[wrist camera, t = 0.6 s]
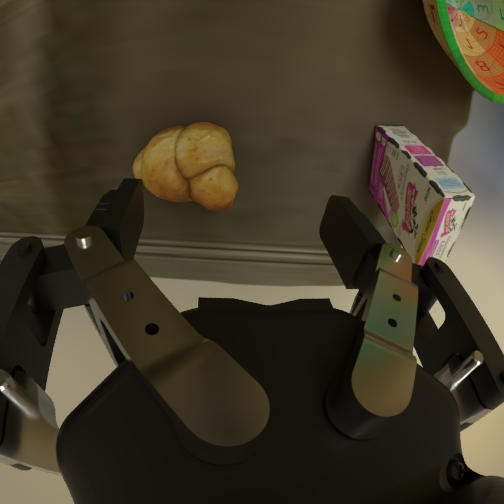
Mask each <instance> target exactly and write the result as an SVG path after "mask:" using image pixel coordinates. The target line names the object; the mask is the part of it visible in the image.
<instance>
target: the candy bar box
mask: <svg viewBox="0 0 504 504" xmlns="http://www.w3.org/2000/svg"><path fill="white" fill-rule="evenodd" d="M368 191H369V192H370V194H371V195H372V197H373V198H374V200H375V201H376V203H377V204H378V206H379V208H380V209H381V211H382V212H383V214H384V216H385V217H386V219H387V221H388V222H389V224H390V226H391V227H392V229H393V231H394V233H395V234H396V236H397V238H398V240H399V241H400V243H401V245H402V247H403V249H404V250H405V251H406V252H408V254H409V255H410V256H411V258H412V263H415V264H418V265H421V266H423V265H424V264H425V262H426V260H427V259H428V258H429V257H434V258H437V259H439V260H441V261H443V262H444V263H445V261H446V259H447V257H448V255H449V253H450V251H451V249H452V247H453V245H454V243H455V241H456V239H457V237H458V235H459V233H460V230H461V228H462V226H463V224H464V222H465V220H466V217H467V215H468V213H469V210H470V208H471V206H472V203H473V201H474V198H475V195H474V194H473V193H472V191H470V189H469V188H468V187H467V186H466V185H465V184H464V183H463V182H462V181H461V179H460V178H459V177H458V176H457V175H456V174H455V173H454V172H453V171H452V170H451V169H450V168H449V167H448V166H447V165H446V164H445V163H444V162H443V161H442V160H441V159H440V158H439V157H438V156H437V155H436V154H435V153H434V152H433V151H432V150H431V149H430V148H428V147H427V146H426V145H425V144H424V143H423V142H422V141H421V140H420V139H418V138H417V137H416V136H415V135H414V134H413V133H412V132H410V131H409V130H408V129H407V128H405V127H404V126H388V125H387V126H386V125H377V126H376V129H375V140H374V150H373V159H372V167H371V174H370V181H369V188H368Z"/></svg>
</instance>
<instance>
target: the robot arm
mask: <svg viewBox="0 0 504 504" xmlns="http://www.w3.org/2000/svg"><path fill="white" fill-rule="evenodd" d="M143 222H144V200H143V180H142V179H129V178H125V179H124V180H123V181H122V183H121V185H120V186H119V188H118V190H111V191H109V192H108V193H106V194H105V195H104V196H103V197H102V198H101V200H100V201H99V204H98V205H97V206H96V208H95V210H94V211H93V213H92V215H91V216H90V218H89V220H88V222H87V223H86V225H85V226H83V227H79V228H77V229H75V230H73V231H71V232H70V233H69V234H68V235H67V236H66V238H65V241H64V244H63V245H59V246H53V247H49V248H44V247H43V243H42V241H41V239H40V238H38V237H34V236H30V237H25V238H22V239H20V240H18V241H17V242H15V243H14V244H13V245H12V246H11V247H10V249H9V250H8V252H7V253H6V255H5V257H4V258H3V260H2V262H1V264H0V462H1V463H3V464H6V465H10V466H13V467H15V468H17V469H20V470H30V469H32V468H34V469H37V470H41V471H45V472H48V473H52V474H56V475H60V476H63V478H64V481H65V482H66V485H67V487H68V489H69V491H70V494H71V496H72V498H73V501H74V504H504V478H502V477H498V476H483V475H480V474H478V473H476V472H474V471H472V470H471V469H470V468H468V466H467V465H466V464H465V461H464V458H463V455H462V450H461V441H460V432H461V431H462V430H464V429H466V428H467V427H469V426H470V425H472V424H473V423H475V422H476V421H478V420H479V419H481V418H482V417H484V416H485V415H487V414H488V413H490V412H491V411H492V410H494V409H495V408H496V407H498V406H499V405H500V404H502V403H503V402H504V355H503V353H502V351H501V349H500V347H499V345H498V344H497V342H496V340H495V338H494V336H493V334H492V333H491V331H490V329H489V327H488V326H487V324H486V322H485V321H484V319H483V317H482V316H481V314H480V312H479V311H478V309H477V308H476V306H475V304H474V303H473V301H472V300H471V298H470V297H469V295H468V294H467V292H466V291H465V289H464V288H463V286H462V285H461V284H460V282H459V281H458V279H457V278H456V276H455V275H454V273H453V272H452V271H451V269H450V268H449V267H448V266H447V265H446V264H445V263H444V262H443V261H441V260H439V259H437V258H434V257H429V258H428V259H427V260H426V262H425V264H424V265H423V266H421V265H418V264H415V263H412V258H411V256H410V255H409V254H408V252H406V251H405V250H404V249H403V248H401V247H399V246H397V245H395V244H392V243H386V241H385V240H384V239H383V237H382V236H381V235H380V233H379V232H378V231H377V230H376V229H375V227H374V226H373V224H371V222H370V221H369V219H368V218H367V217H366V216H365V215H364V214H363V213H362V212H360V211H359V210H358V209H357V207H356V206H355V205H354V204H353V202H352V201H351V200H350V199H349V198H348V197H342V196H335V195H332V196H331V197H330V198H329V201H328V203H327V207H326V210H325V213H324V216H323V219H322V222H321V225H320V238H321V240H322V242H323V244H324V245H325V247H326V249H327V251H328V253H329V255H330V257H331V259H332V261H333V263H334V265H335V267H336V269H337V271H338V273H339V275H340V277H341V279H342V281H343V283H344V285H345V287H346V289H359V291H358V293H357V295H356V297H355V300H354V302H353V305H352V308H351V311H350V313H347V312H345V311H342V310H339V309H335V308H333V306H332V304H331V302H330V299H329V298H328V299H298V300H294V301H289V302H285V303H280V304H276V305H262V304H257V303H253V302H248V301H243V300H238V299H234V298H200V297H199V300H198V308H195V309H191V310H187V311H184V312H181V313H180V312H179V311H178V310H177V309H176V308H175V307H174V306H173V305H172V303H171V302H170V301H169V300H168V299H167V298H166V297H165V295H164V294H163V293H162V292H161V291H160V290H159V288H158V287H157V286H156V285H155V284H154V282H153V281H152V280H151V279H150V278H149V276H148V275H147V274H146V273H145V272H144V270H143V269H142V268H141V267H140V265H139V264H138V263H137V262H136V261H135V260H134V259H133V258H134V255H135V251H136V248H137V244H138V241H139V238H140V234H141V231H142V228H143ZM437 299H438V301H439V302H440V304H441V306H442V307H443V309H444V311H445V321H444V323H443V324H442V326H441V327H440V328H439V329H438V328H437V326H436V324H435V322H434V321H433V319H432V317H431V315H430V313H429V310H430V309H431V307H432V306H433V305H434V303H435V302H436V300H437ZM80 305H84V307H85V309H86V311H87V313H88V315H89V317H90V319H91V321H92V323H93V325H94V326H95V328H96V330H97V332H98V333H99V335H100V337H101V339H102V341H103V342H104V344H105V346H106V348H107V350H108V352H109V354H110V356H111V358H112V360H113V361H114V363H115V365H116V366H117V368H116V369H115V370H114V371H113V372H112V373H111V374H110V375H109V376H108V377H107V378H105V379H104V381H102V383H101V384H99V385H98V386H97V387H96V388H95V389H94V390H93V391H92V392H91V393H90V394H89V395H88V396H87V397H86V398H85V399H84V400H83V401H82V402H81V403H80V404H79V405H78V406H77V407H76V408H75V409H74V410H73V411H72V412H71V413H70V414H69V415H68V416H67V418H66V419H65V420H64V422H63V423H62V425H61V427H60V429H59V427H58V425H57V423H56V416H55V407H54V403H53V401H52V399H51V398H50V397H49V396H48V395H47V394H46V392H45V388H46V382H47V376H48V371H49V366H50V361H51V356H52V352H53V347H54V343H55V339H56V335H57V331H58V327H59V324H60V320H61V316H62V313H63V309H64V308H70V307H75V306H80ZM413 346H414V348H415V350H416V352H417V355H418V357H419V359H420V361H421V363H422V366H423V367H421V366H420V365H419V364H417V359H416V357H415V356H414V355H413Z"/></svg>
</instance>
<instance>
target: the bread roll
mask: <svg viewBox="0 0 504 504" xmlns="http://www.w3.org/2000/svg"><path fill="white" fill-rule="evenodd" d="M234 160H235V158H234V155H233V151H232V140H231V138H230V135H229V134H228V132H227V131H226V130H225V129H224V128H222V127H220V126H218V125H216V124H214V123H212V122H204V121H201V122H194V123H192V124H191V125H189V126H187V125H177V126H173V127H169V128H166V129H163V130H161V131H159V132H158V133H156V134H155V135H154V136H153V137H152V139H151V140H150V141H149V143H148V144H147V146H146V147H145V148H144V149H142V151H141V152H140V153H139V154H138V156H137V157H136V158H135V161H134V164H133V167H132V170H133V173H134V176H135V178H136V179H142V180H143V185H144V186H146V188H147V189H148V190H149V191H150V192H151V193H153V194H154V195H155V196H157V197H159V198H163V199H166V200H169V201H174V202H181V203H183V202H188V201H195V202H197V203H199V204H201V205H202V206H204V207H206V208H207V209H210V210H213V211H217V212H222V211H226V210H228V209H229V208H230V207H231V205H232V203H233V201H234V198H235V195H236V193H237V191H238V182H237V179H236V177H235V176H234V174H233V171H234V170H235V162H234Z"/></svg>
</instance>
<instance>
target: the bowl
mask: <svg viewBox="0 0 504 504" xmlns="http://www.w3.org/2000/svg"><path fill="white" fill-rule="evenodd" d="M422 2H423V7H424V11H425V14H426V17H427V20H428V22H429V25H430V27H431V29H432V31H433V33H434V35H435V37H436V39H437V40H438V42H439V43H440V45H441V47H442V48H443V50H444V51H445V53H446V54H447V55H448V56H449V58H450V59H451V60H452V61H453V63H454V64H455V66H456V67H457V68H458V70H459V71H460V72H461V73H462V74H463V76H464V77H465V79H466V80H467V81H468V83H469V84H470V85H471V86H472V87H473V88H474V89H475V90H476V91H477V92H478V93H480V94H481V95H482V96H483V97H485V98H487V99H489V100H490V101H493V102H497V103H504V0H422Z"/></svg>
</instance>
